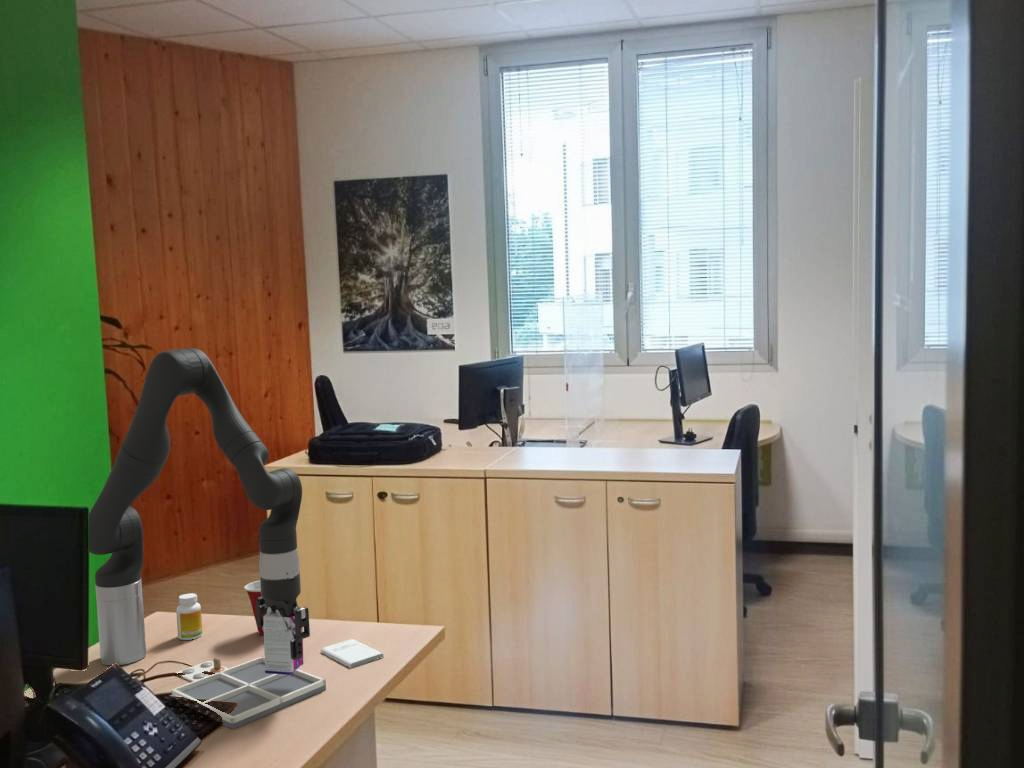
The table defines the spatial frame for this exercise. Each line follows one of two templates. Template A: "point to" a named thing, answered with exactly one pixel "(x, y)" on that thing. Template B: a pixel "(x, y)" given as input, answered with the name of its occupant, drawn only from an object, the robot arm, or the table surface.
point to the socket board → (251, 691)
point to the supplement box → (278, 646)
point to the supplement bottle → (189, 617)
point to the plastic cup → (255, 592)
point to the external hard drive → (351, 653)
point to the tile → (202, 670)
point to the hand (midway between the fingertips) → (284, 653)
